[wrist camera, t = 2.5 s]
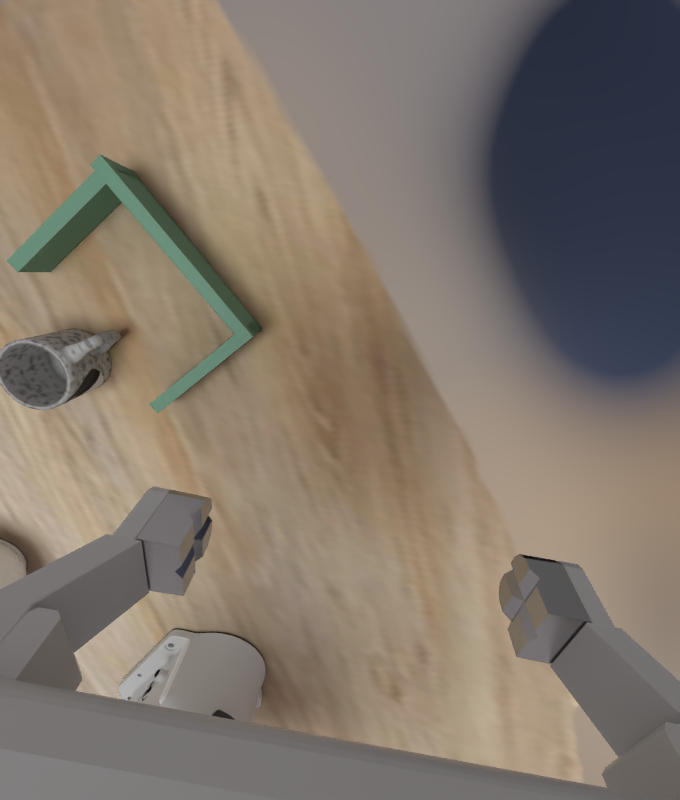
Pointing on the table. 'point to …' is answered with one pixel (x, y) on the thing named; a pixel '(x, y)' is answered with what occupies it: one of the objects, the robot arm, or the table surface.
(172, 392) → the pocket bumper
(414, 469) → the table surface
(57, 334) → the mug
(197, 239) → the table surface
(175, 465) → the table surface
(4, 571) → the lidded bowl
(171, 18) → the table surface
